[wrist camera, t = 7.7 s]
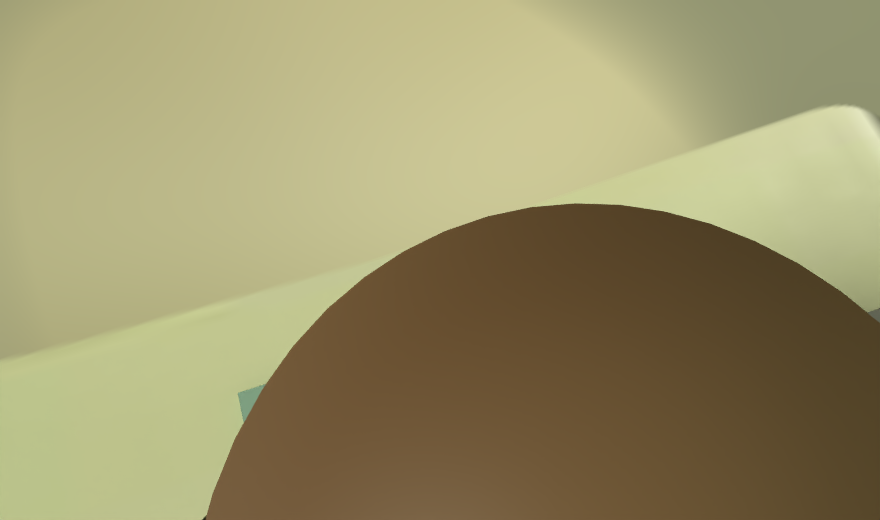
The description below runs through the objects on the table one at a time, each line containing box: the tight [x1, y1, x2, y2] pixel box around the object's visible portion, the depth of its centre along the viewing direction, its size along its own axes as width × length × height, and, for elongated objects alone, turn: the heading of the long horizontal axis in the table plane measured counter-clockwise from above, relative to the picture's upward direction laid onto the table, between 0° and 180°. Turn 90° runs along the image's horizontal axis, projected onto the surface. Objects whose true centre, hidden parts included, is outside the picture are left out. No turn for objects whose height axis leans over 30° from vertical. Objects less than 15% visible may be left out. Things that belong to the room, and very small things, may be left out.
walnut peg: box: [206, 204, 880, 520], centre depth 8 cm, size 4×4×12 cm
